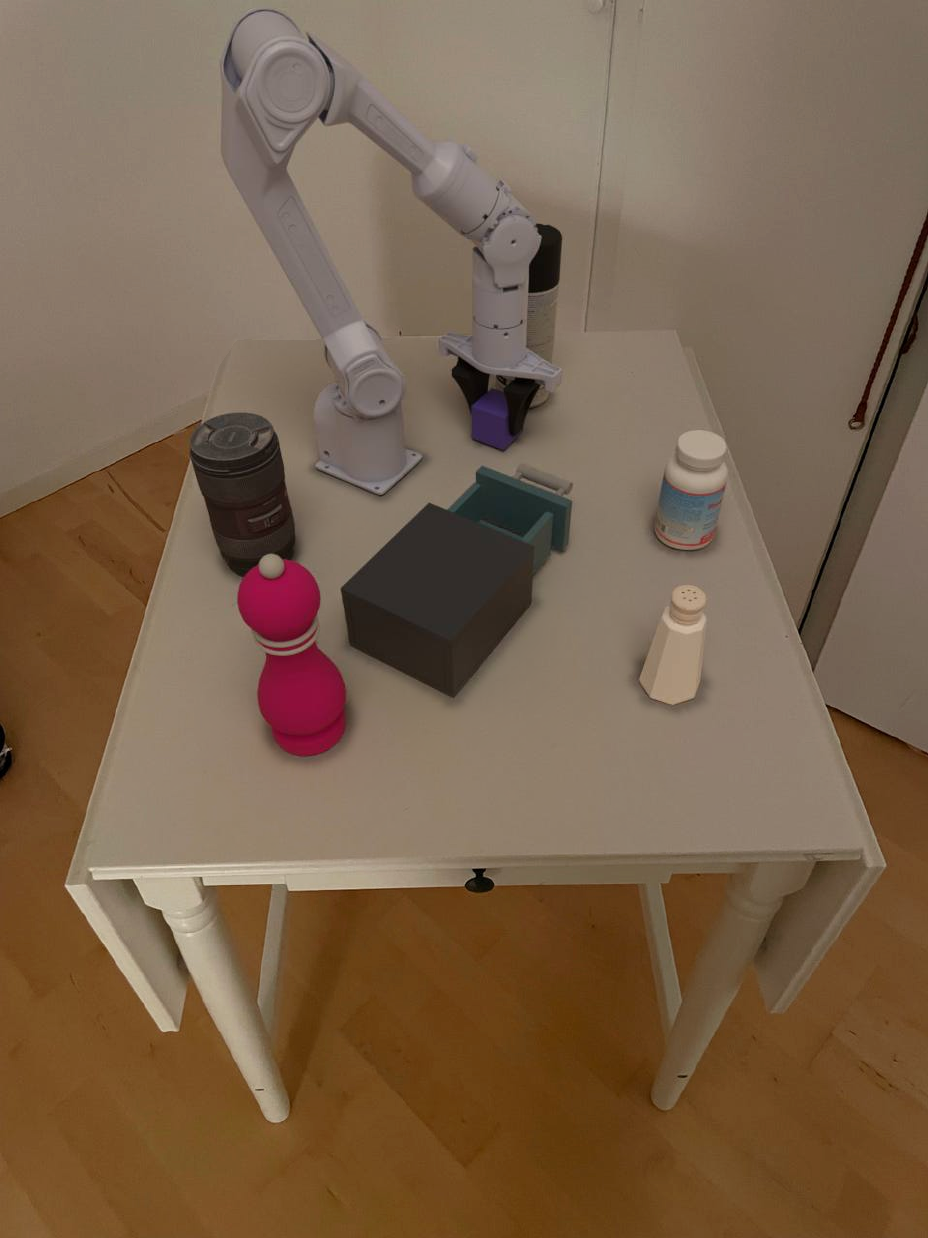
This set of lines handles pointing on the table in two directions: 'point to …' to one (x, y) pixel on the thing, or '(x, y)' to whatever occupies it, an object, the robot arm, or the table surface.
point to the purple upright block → (492, 420)
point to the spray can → (541, 303)
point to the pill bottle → (692, 491)
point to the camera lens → (243, 488)
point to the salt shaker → (677, 648)
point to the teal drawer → (521, 507)
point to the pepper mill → (292, 657)
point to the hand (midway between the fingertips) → (498, 424)
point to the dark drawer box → (439, 597)
